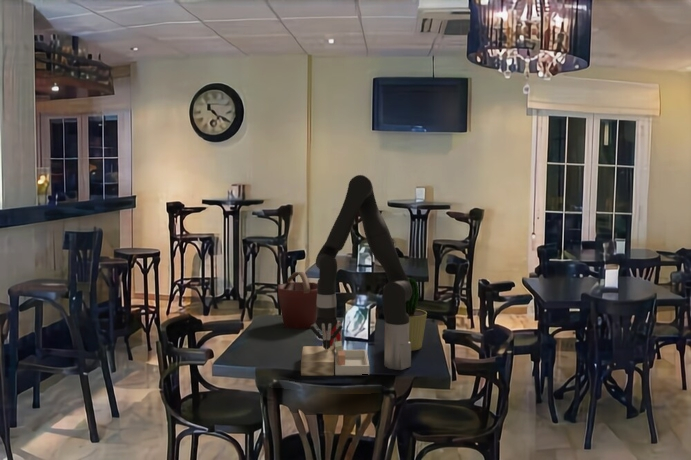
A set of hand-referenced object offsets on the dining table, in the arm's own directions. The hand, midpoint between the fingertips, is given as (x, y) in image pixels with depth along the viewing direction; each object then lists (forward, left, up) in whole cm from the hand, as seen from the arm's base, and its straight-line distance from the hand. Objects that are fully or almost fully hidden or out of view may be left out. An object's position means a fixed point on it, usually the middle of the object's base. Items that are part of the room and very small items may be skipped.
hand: (326, 348), depth 247 cm
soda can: (+11, -15, -6) cm, 19 cm away
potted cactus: (-10, -39, -6) cm, 41 cm away
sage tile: (-3, -3, -1) cm, 4 cm away
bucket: (+50, -35, -6) cm, 61 cm away
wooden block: (-1, +5, -6) cm, 8 cm away
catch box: (-10, -3, -6) cm, 12 cm away
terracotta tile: (-9, +3, -2) cm, 10 cm away
